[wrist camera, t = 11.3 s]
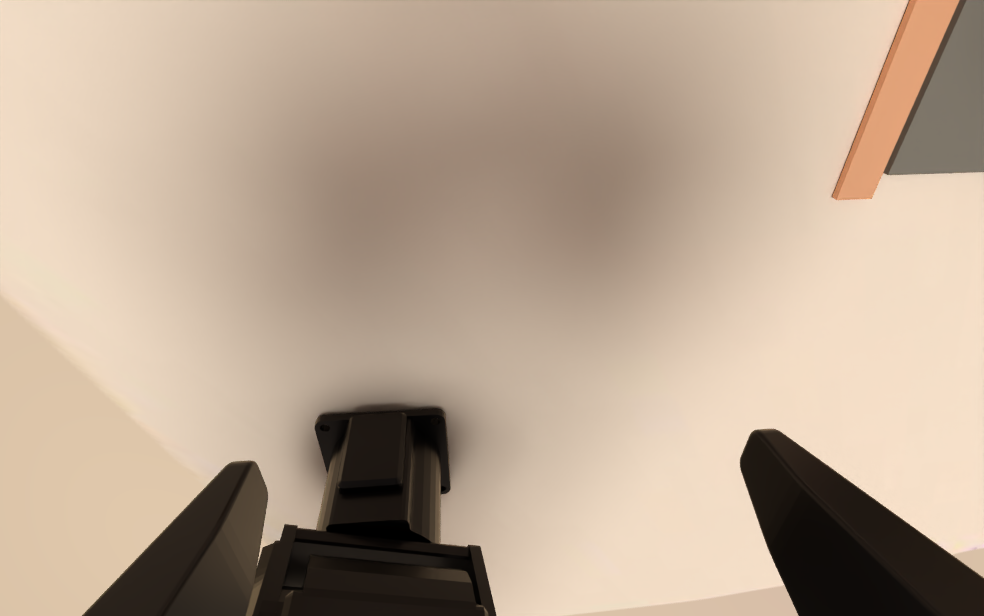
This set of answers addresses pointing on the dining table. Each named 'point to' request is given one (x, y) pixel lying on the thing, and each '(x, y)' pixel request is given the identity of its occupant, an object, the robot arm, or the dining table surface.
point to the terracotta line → (894, 96)
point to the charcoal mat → (948, 104)
